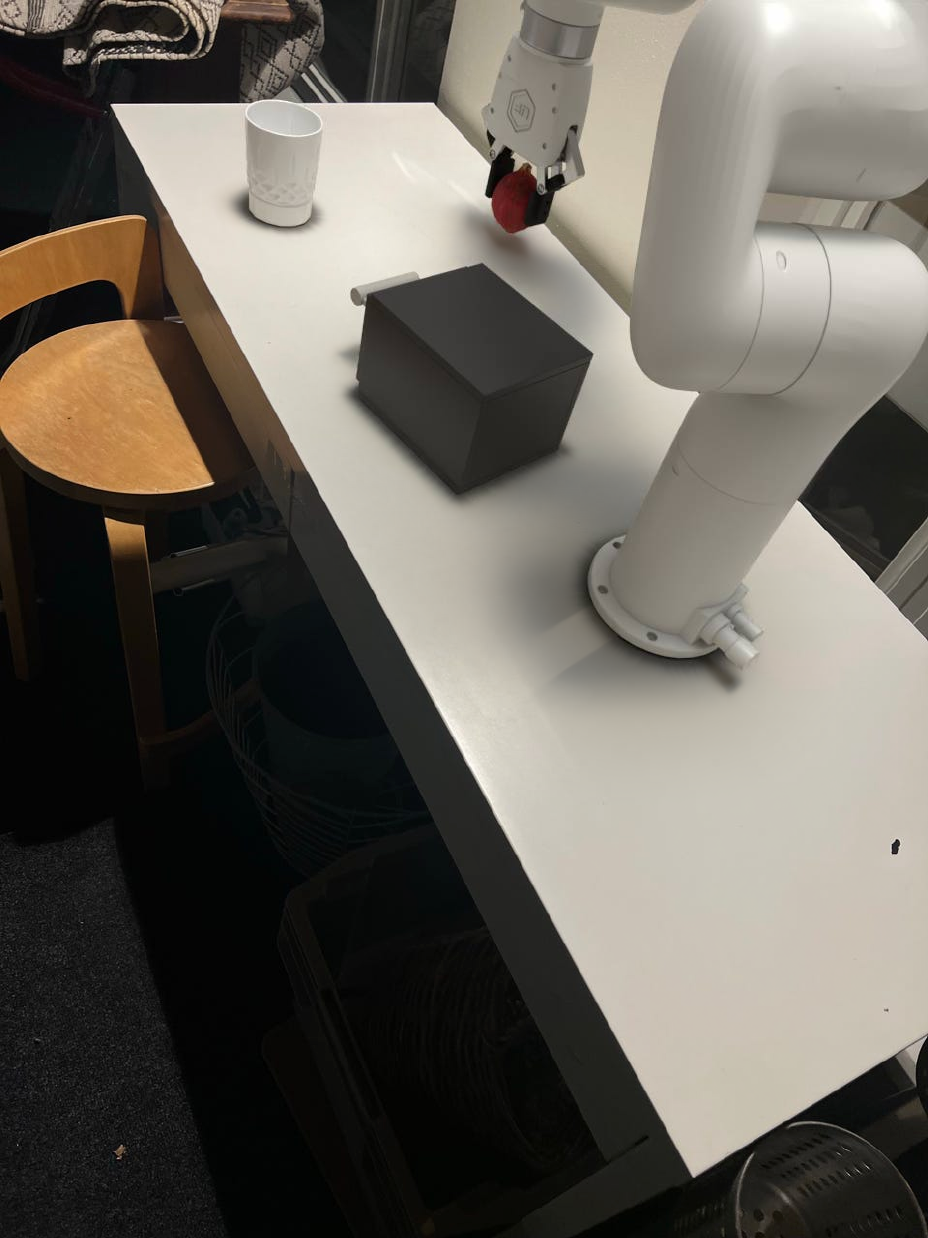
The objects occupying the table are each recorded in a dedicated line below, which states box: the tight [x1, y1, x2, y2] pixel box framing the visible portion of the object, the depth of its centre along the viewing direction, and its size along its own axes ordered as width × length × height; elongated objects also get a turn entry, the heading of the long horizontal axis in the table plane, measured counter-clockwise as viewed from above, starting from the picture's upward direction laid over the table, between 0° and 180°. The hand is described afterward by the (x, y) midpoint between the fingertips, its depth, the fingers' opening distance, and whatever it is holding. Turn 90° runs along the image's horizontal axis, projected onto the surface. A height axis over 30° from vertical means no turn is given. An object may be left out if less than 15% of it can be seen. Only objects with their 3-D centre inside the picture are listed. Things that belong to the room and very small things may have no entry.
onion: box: [490, 161, 537, 235], centre depth 102 cm, size 6×6×8 cm
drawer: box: [349, 265, 468, 382], centre depth 81 cm, size 18×11×9 cm, turn 41°
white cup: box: [244, 99, 324, 227], centre depth 96 cm, size 8×8×10 cm
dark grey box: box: [356, 262, 594, 495], centre depth 79 cm, size 15×13×11 cm
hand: (515, 208), depth 103 cm, fingers closed on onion, 5 cm apart
